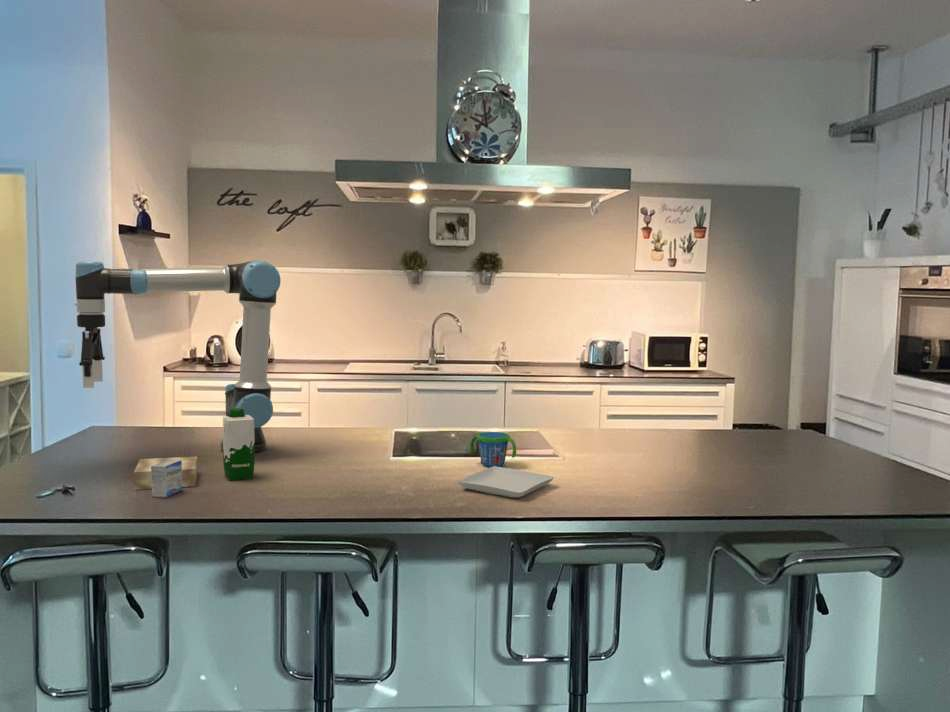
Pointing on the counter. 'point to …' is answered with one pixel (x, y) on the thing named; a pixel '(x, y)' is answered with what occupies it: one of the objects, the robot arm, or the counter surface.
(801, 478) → the counter surface
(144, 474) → the beige slab
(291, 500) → the counter surface
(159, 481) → the medicine box
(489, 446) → the snack cup
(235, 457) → the milk carton
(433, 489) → the counter surface
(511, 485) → the salad plate
